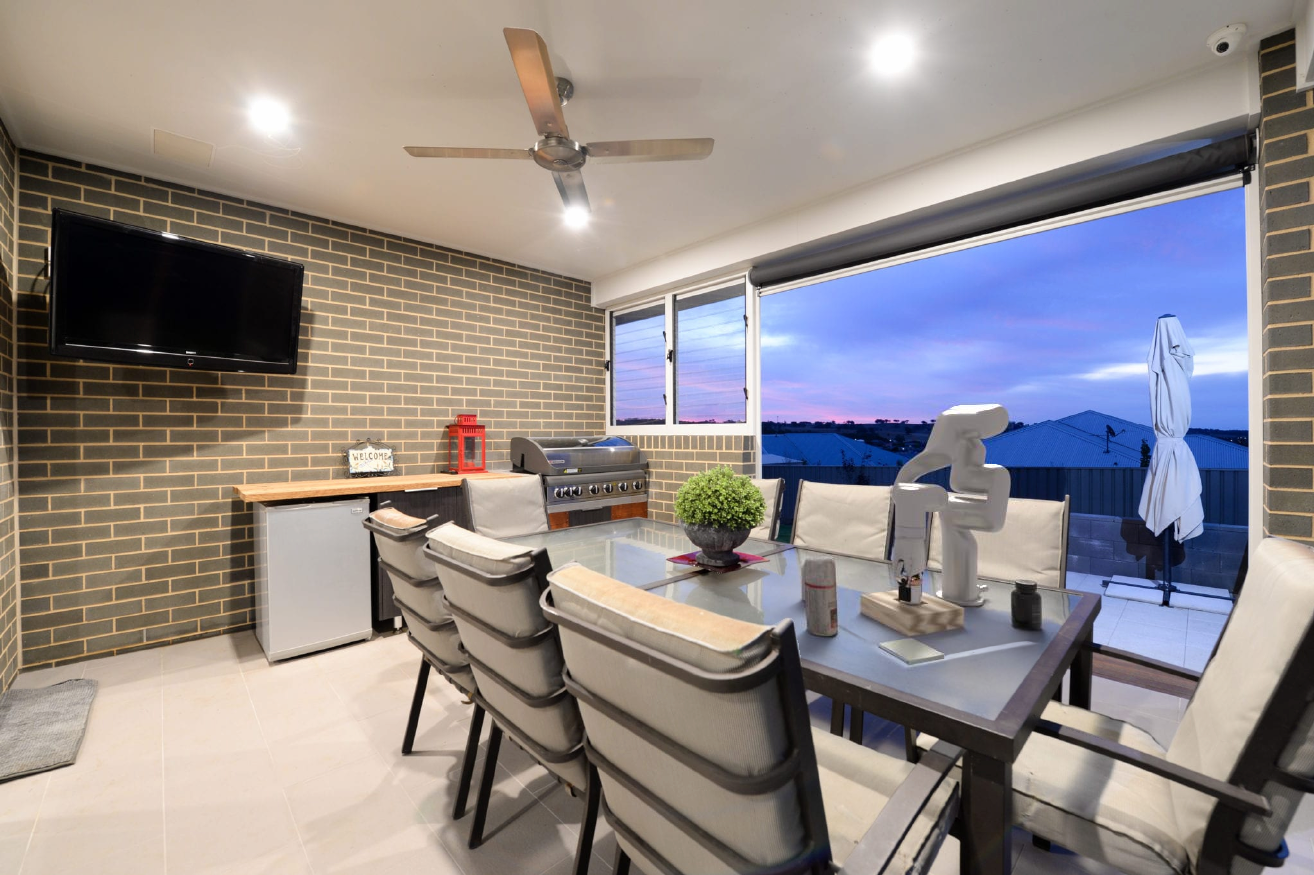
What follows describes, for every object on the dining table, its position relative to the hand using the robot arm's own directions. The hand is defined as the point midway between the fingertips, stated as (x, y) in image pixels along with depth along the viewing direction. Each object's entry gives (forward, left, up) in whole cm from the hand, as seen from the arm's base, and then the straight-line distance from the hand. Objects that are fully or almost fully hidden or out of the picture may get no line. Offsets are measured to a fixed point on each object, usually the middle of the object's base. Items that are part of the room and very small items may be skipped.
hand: (910, 597), depth 145 cm
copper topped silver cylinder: (0, 0, -6) cm, 6 cm away
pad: (+14, +15, -7) cm, 22 cm away
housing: (0, 0, -7) cm, 7 cm away
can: (+14, -24, -7) cm, 29 cm away
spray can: (+26, -3, -7) cm, 27 cm away
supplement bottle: (-27, +12, -7) cm, 30 cm away
